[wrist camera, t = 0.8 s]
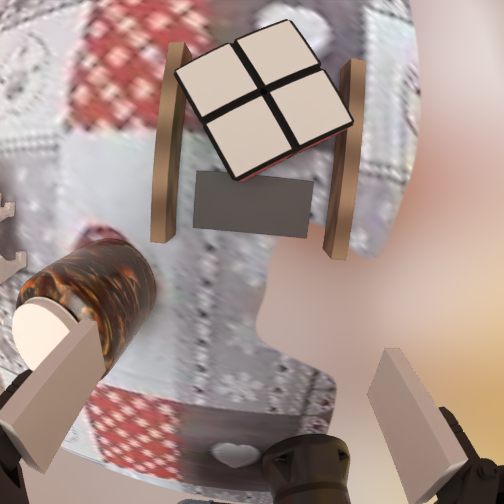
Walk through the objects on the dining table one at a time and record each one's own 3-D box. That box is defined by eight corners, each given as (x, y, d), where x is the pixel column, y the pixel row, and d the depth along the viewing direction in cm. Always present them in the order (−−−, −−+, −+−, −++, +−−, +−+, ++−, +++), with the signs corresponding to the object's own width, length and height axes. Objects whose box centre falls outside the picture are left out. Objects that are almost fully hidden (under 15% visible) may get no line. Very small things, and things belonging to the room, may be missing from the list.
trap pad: (306, 237, 32) (306, 238, 32) (193, 227, 32) (192, 227, 31) (312, 181, 30) (313, 181, 30) (197, 170, 30) (196, 170, 30)
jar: (64, 246, 33) (-17, 288, 18) (143, 230, 32) (70, 275, 18) (91, 330, 36) (32, 396, 21) (167, 324, 35) (124, 408, 21)
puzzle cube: (326, 139, 29) (358, 123, 19) (240, 183, 30) (233, 184, 20) (280, 60, 27) (289, 15, 17) (195, 101, 28) (169, 70, 18)
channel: (335, 249, 32) (345, 260, 28) (162, 233, 32) (150, 242, 28) (353, 72, 27) (365, 61, 23) (179, 55, 27) (169, 42, 23)
